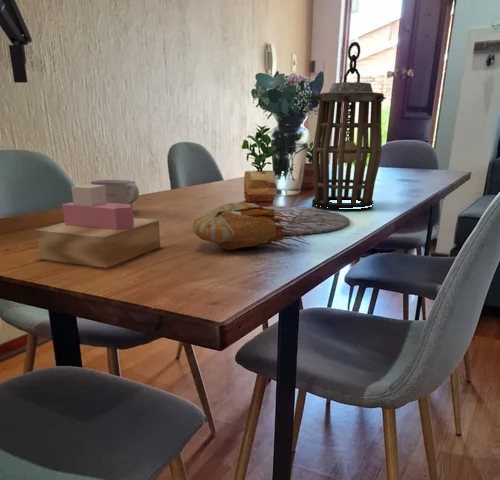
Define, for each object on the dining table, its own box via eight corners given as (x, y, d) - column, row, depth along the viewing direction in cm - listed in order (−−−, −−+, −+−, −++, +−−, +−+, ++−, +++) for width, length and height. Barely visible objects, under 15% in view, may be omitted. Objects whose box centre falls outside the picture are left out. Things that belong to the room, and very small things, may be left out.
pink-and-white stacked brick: (64, 224, 89) (59, 186, 86) (83, 219, 93) (79, 183, 91) (124, 230, 84) (120, 190, 82) (141, 225, 89) (138, 187, 86)
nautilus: (316, 247, 98) (293, 271, 85) (216, 231, 105) (180, 250, 92) (321, 206, 94) (297, 224, 82) (216, 192, 101) (179, 207, 89)
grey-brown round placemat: (368, 214, 128) (368, 213, 128) (317, 241, 100) (317, 239, 100) (251, 204, 143) (251, 202, 142) (178, 224, 114) (178, 223, 114)
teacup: (86, 212, 130) (83, 179, 127) (124, 207, 137) (121, 176, 134) (113, 219, 120) (110, 184, 117) (152, 214, 127) (150, 181, 124)
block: (39, 258, 87) (35, 229, 85) (99, 240, 100) (96, 214, 98) (107, 268, 82) (103, 237, 80) (160, 246, 95) (158, 220, 93)
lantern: (387, 205, 144) (405, 43, 128) (363, 215, 129) (379, 33, 113) (324, 199, 153) (334, 48, 138) (295, 207, 138) (302, 39, 122)
